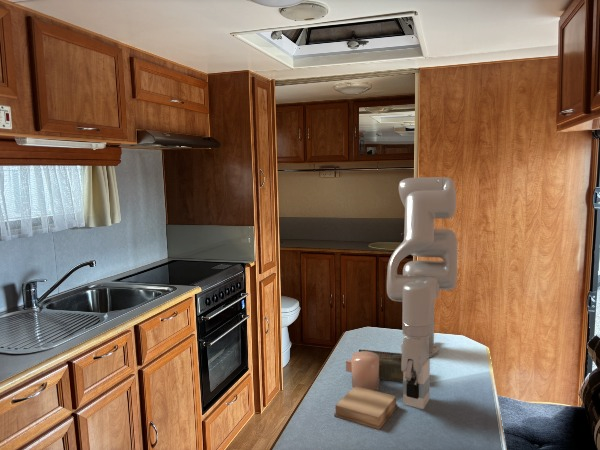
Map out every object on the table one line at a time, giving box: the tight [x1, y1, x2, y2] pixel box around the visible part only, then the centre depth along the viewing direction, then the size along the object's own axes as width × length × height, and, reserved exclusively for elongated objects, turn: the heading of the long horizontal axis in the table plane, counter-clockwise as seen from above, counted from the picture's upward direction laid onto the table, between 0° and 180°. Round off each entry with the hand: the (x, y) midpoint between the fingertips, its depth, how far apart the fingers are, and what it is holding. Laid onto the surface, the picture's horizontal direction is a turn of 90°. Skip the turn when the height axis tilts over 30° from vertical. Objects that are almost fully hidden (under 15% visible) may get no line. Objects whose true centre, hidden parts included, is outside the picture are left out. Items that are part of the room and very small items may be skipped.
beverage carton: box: [358, 349, 403, 382], centre depth 146 cm, size 8×19×7 cm, turn 74°
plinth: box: [333, 386, 398, 430], centre depth 125 cm, size 13×13×3 cm
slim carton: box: [402, 357, 431, 410], centre depth 128 cm, size 6×6×13 cm
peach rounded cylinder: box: [345, 351, 380, 391], centre depth 139 cm, size 8×10×9 cm
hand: (416, 391), depth 129 cm, fingers closed on slim carton, 5 cm apart
